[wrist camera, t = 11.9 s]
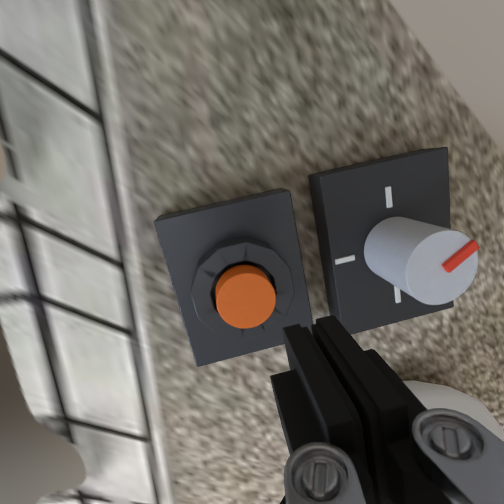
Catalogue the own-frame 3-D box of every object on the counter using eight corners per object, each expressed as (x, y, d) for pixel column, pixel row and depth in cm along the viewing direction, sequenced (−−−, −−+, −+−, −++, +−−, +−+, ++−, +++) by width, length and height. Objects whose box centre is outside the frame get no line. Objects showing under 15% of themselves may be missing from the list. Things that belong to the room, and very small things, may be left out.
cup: (486, 403, 31) (696, 579, 18) (393, 499, 33) (522, 727, 19) (394, 332, 28) (570, 485, 14) (295, 443, 29) (371, 675, 16)
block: (158, 216, 23) (148, 226, 19) (282, 187, 23) (297, 192, 19) (197, 351, 26) (196, 383, 22) (306, 322, 26) (323, 348, 23)
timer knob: (385, 288, 24) (434, 322, 19) (351, 246, 22) (394, 269, 17) (433, 248, 23) (496, 271, 18) (401, 203, 22) (459, 213, 17)
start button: (209, 271, 20) (209, 281, 19) (264, 258, 21) (270, 266, 19) (222, 322, 21) (224, 335, 20) (275, 308, 22) (281, 320, 20)
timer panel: (307, 174, 23) (320, 175, 21) (424, 148, 24) (449, 146, 21) (330, 321, 27) (344, 338, 24) (432, 294, 27) (455, 308, 25)
